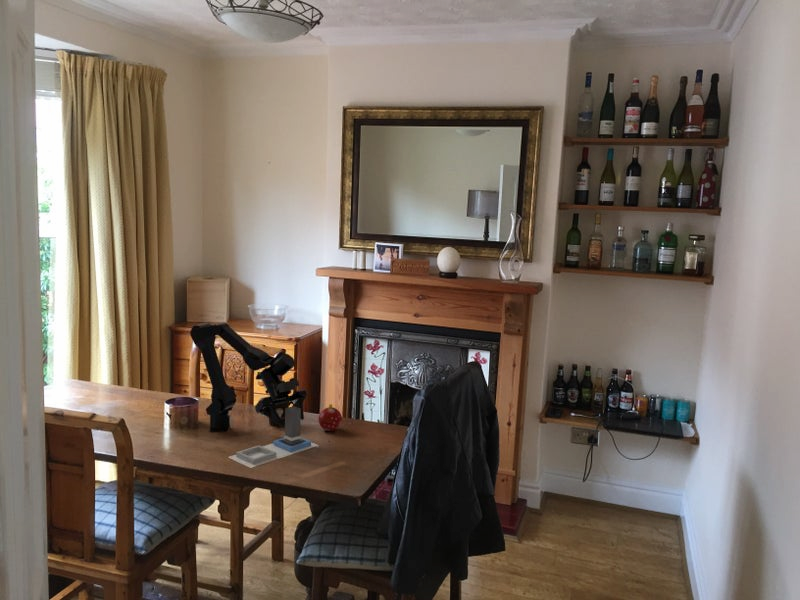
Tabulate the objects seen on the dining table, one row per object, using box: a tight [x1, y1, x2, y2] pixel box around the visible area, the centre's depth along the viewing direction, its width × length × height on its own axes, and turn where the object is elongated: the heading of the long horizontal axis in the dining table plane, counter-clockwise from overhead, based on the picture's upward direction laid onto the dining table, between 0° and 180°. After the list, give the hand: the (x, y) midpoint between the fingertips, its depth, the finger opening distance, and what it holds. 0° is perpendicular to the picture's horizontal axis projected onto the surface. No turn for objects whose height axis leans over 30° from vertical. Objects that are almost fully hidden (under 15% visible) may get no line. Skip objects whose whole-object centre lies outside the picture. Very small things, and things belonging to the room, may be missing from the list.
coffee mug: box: [268, 395, 292, 428], centre depth 236 cm, size 12×9×10 cm
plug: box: [282, 405, 303, 446], centre depth 212 cm, size 5×5×13 cm
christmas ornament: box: [318, 403, 343, 432], centre depth 231 cm, size 9×9×10 cm
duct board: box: [228, 436, 320, 469], centre depth 207 cm, size 28×12×2 cm, turn 140°
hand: (292, 422), depth 211 cm, fingers open, 9 cm apart
